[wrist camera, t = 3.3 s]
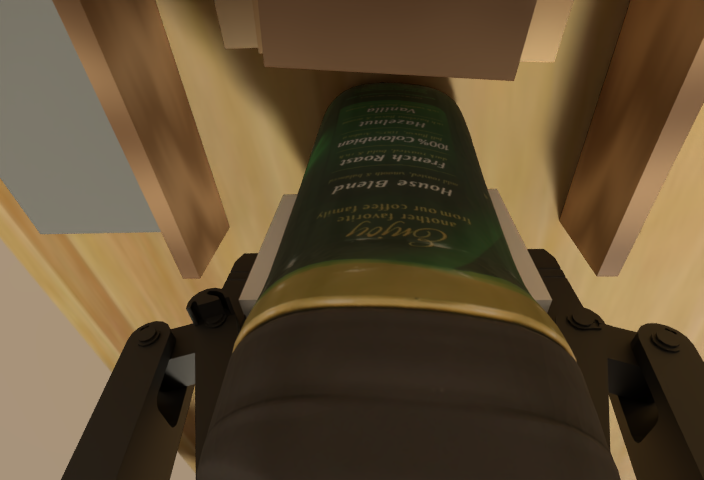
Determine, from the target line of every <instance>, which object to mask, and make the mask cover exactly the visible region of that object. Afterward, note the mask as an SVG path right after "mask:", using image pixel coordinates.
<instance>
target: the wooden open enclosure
mask: <svg viewBox="0 0 704 480" xmlns="http://www.w3.org/2000/svg"><path fill="white" fill-rule="evenodd" d="M52 1H53V3H54V5H55V8H56V10H57V12H58V14H59V16H60V18H61V20H62V22H63V25H64V27H65V29H66V31H67V33H68V35H69V37H70V39H71V42H72V44H73V46H74V48H75V50H76V52H77V54H78V56H79V59H80V61H81V63H82V65H83V67H84V69H85V71H86V73H87V76H88V78H89V80H90V82H91V84H92V86H93V88H94V90H95V93H96V95H97V97H98V99H99V101H100V103H101V105H102V107H103V110H104V112H105V114H106V116H107V118H108V120H109V122H110V124H111V127H112V129H113V131H114V133H115V135H116V137H117V139H118V141H119V144H120V146H121V148H122V150H123V152H124V154H125V156H126V158H127V161H128V163H129V165H130V167H131V169H132V171H133V173H134V175H135V178H136V180H137V182H138V184H139V186H140V188H141V190H142V192H143V195H144V197H145V199H146V201H147V203H148V205H149V207H150V209H151V212H152V214H153V216H154V218H155V220H156V222H157V224H158V226H159V229H160V231H161V233H162V235H163V237H164V239H165V241H166V243H167V246H168V248H169V250H170V252H171V254H172V256H173V258H174V260H175V263H176V265H177V267H178V269H179V271H180V273H181V275H182V277H183V279H200V278H201V276H202V274H203V273H204V271H205V269H206V267H207V266H208V264H209V262H210V261H211V259H212V257H213V255H214V254H215V252H216V250H217V248H218V247H219V245H220V243H221V241H222V240H223V238H224V236H225V234H226V233H227V231H228V229H229V224H228V221H227V218H226V215H225V212H224V209H223V206H222V202H221V199H220V196H219V193H218V190H217V187H216V184H215V181H214V178H213V175H212V172H211V169H210V166H209V163H208V160H207V157H206V154H205V151H204V148H203V145H202V142H201V139H200V136H199V133H198V130H197V127H196V124H195V121H194V117H193V114H192V111H191V108H190V105H189V102H188V99H187V96H186V93H185V90H184V87H183V84H182V81H181V78H180V75H179V72H178V69H177V66H176V63H175V60H174V57H173V54H172V51H171V48H170V45H169V42H168V39H167V35H166V32H165V29H164V26H163V23H162V20H161V17H160V14H159V11H158V8H157V5H156V2H155V0H52ZM703 103H704V0H631V1H630V4H629V7H628V10H627V13H626V16H625V20H624V23H623V26H622V29H621V32H620V35H619V38H618V41H617V44H616V47H615V50H614V53H613V57H612V60H611V63H610V66H609V69H608V72H607V75H606V78H605V81H604V84H603V87H602V90H601V94H600V97H599V100H598V103H597V106H596V109H595V112H594V115H593V118H592V121H591V124H590V128H589V131H588V134H587V137H586V140H585V143H584V146H583V149H582V152H581V155H580V158H579V161H578V165H577V168H576V171H575V174H574V177H573V180H572V183H571V186H570V189H569V192H568V195H567V198H566V202H565V205H564V208H563V211H562V214H561V217H560V220H559V221H560V223H561V224H562V226H563V227H564V229H565V230H566V232H567V233H568V235H569V236H570V237H571V239H572V240H573V242H574V243H575V245H576V246H577V248H578V249H579V251H580V252H581V254H582V255H583V257H584V258H585V260H586V261H587V263H588V264H589V266H590V267H591V268H592V270H593V271H594V273H595V274H596V276H618V275H619V273H620V271H621V269H622V267H623V265H624V263H625V261H626V259H627V257H628V255H629V253H630V251H631V249H632V247H633V245H634V243H635V241H636V239H637V237H638V235H639V233H640V231H641V229H642V227H643V225H644V223H645V221H646V218H647V216H648V214H649V212H650V210H651V208H652V206H653V204H654V202H655V200H656V198H657V196H658V194H659V192H660V190H661V188H662V186H663V184H664V182H665V180H666V178H667V176H668V174H669V172H670V170H671V168H672V166H673V164H674V162H675V160H676V158H677V156H678V154H679V152H680V150H681V148H682V146H683V144H684V142H685V139H686V137H687V135H688V133H689V131H690V129H691V127H692V125H693V123H694V121H695V119H696V117H697V115H698V113H699V111H700V109H701V107H702V105H703Z"/></svg>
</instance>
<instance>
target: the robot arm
mask: <svg viewBox="0 0 704 480" xmlns="http://www.w3.org/2000/svg"><path fill="white" fill-rule="evenodd" d="M488 192H489V195H490V197H491V200H492V203H493V206H494V208H495V211H496V214H497V217H498V219H499V222H500V225H501V228H502V231H503V233H504V236H505V239H506V242H507V244H508V247H509V250H510V252H511V255H512V258H513V260H514V263H515V265H516V268H517V270H518V272H519V274H520V276H521V278H522V280H523V282H524V284H525V286H526V288H527V289H528V291H529V293H530V294H531V296H532V297H533V298H534V300H535V301H536V302H537V303H538V304H539V305H540V306H541V307H542V308H543V309H544V310H545V311H546V312H547V314H548V315H549V316H550V317H551V319H552V320H553V321H554V323H555V324H556V325H557V326H558V328H559V330H560V331H561V333H562V334H563V336H564V337H565V339H566V341H567V343H568V345H569V346H570V348H571V350H572V352H573V354H574V356H575V358H576V362H577V364H578V366H579V367H580V369H581V372H582V374H583V376H584V379H585V382H586V385H587V387H588V390H589V393H590V396H591V398H592V401H593V404H594V406H595V409H596V412H597V414H598V417H599V420H600V423H601V426H602V429H603V432H604V436H605V439H606V442H607V445H608V447H609V450H610V426H609V397H610V400H611V403H612V406H613V409H614V412H615V415H616V418H617V421H618V424H619V427H620V430H621V433H622V436H623V439H624V442H625V445H626V448H627V451H628V454H629V458H630V461H631V464H632V467H633V470H634V473H635V476H636V479H637V480H704V362H703V360H702V358H701V357H700V355H699V353H698V352H697V350H696V348H695V347H694V345H693V344H692V343H691V341H690V340H689V339H688V338H687V337H686V336H684V335H683V334H682V333H680V332H679V331H677V330H675V329H673V328H671V327H668V326H665V325H661V324H657V323H650V324H645V325H643V326H641V327H640V328H639V330H638V332H634V331H629V330H625V329H621V328H617V327H613V326H610V325H606V324H605V322H604V321H603V320H602V319H601V318H600V316H599V315H597V314H596V313H594V312H593V311H591V310H589V309H586V308H584V307H583V306H582V304H581V302H580V301H579V299H578V297H577V295H576V294H575V292H574V290H573V289H572V287H571V285H570V283H569V282H568V280H567V278H565V275H564V273H563V271H562V270H561V269H560V266H559V264H558V263H557V261H556V259H555V258H554V257H553V256H552V255H551V254H549V253H548V252H547V251H546V250H544V249H527V248H526V246H525V244H524V242H523V240H522V238H521V236H520V234H519V232H518V230H517V228H516V226H515V224H514V222H513V220H512V218H511V216H510V214H509V212H508V210H507V208H506V206H505V204H504V202H503V200H502V198H501V196H500V194H499V192H498V190H497V189H488ZM297 195H298V194H292V195H283V197H282V199H281V201H280V204H279V206H278V208H277V211H276V213H275V215H274V218H273V220H272V223H271V225H270V227H269V230H268V232H267V234H266V237H265V239H264V241H263V244H262V246H261V248H260V251H259V253H250V254H243V255H242V256H241V257H240V258H239V259H238V260H237V261H236V262H235V263H234V266H233V268H232V270H231V273H230V274H229V276H228V278H227V281H226V282H225V284H224V286H223V288H222V289H219V288H211V289H206V290H204V291H201V292H199V293H198V294H196V295H195V296H193V297H192V298H191V300H190V301H189V302H188V304H187V308H186V309H187V311H188V313H189V315H190V317H191V319H192V321H193V324H190V325H186V326H182V327H178V328H174V329H170V327H169V326H168V324H166V323H164V322H161V321H155V322H151V323H147V324H145V325H143V326H141V327H139V328H138V329H137V330H136V331H134V332H133V333H132V334H131V336H130V337H129V339H128V340H127V342H126V345H125V347H124V349H123V351H122V353H121V355H120V357H119V359H118V361H117V363H116V365H115V368H114V370H113V372H112V374H111V376H110V378H109V380H108V382H107V384H106V386H105V388H104V391H103V393H102V395H101V397H100V399H99V401H98V403H97V405H96V407H95V409H94V412H93V414H92V416H91V418H90V420H89V422H88V424H87V426H86V428H85V430H84V432H83V435H82V437H81V439H80V441H79V443H78V445H77V447H76V449H75V451H74V453H73V456H72V458H71V460H70V462H69V464H68V466H67V468H66V470H65V472H64V475H63V477H62V479H61V480H170V476H171V473H172V469H173V465H174V461H175V457H176V454H177V450H178V446H179V443H180V439H181V435H182V431H183V428H184V424H185V420H186V416H187V412H188V409H189V405H190V401H191V397H192V394H193V390H194V386H195V431H196V480H197V469H198V465H199V461H200V457H201V453H202V449H203V446H204V443H205V440H206V437H207V433H208V430H209V426H210V423H211V419H212V416H213V413H214V409H215V406H216V403H217V399H218V396H219V393H220V390H221V386H222V383H223V380H224V377H225V373H226V370H227V366H228V363H229V360H230V357H231V355H232V352H233V348H234V343H235V341H236V339H237V337H238V335H239V333H240V331H241V328H242V326H243V324H244V322H245V320H246V318H247V317H248V315H249V313H250V312H251V310H252V308H253V306H254V305H255V303H256V301H257V299H258V297H259V296H260V294H261V292H262V290H263V287H264V285H265V283H266V280H267V278H268V276H269V273H270V270H271V268H272V265H273V262H274V259H275V256H276V254H277V251H278V248H279V245H280V243H281V240H282V237H283V234H284V231H285V228H286V225H287V222H288V219H289V217H290V214H291V211H292V208H293V206H294V203H295V200H296V197H297Z"/></svg>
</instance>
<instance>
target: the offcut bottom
mask: <svg viewBox="0 0 704 480" xmlns="http://www.w3.org/2000/svg"><path fill="white" fill-rule="evenodd" d="M214 3H215V7H216V12H217V16H218V20H219V25H220V29H221V33H222V38H223V42H224V46H225V49H236V48H258V44H257V36H256V28H255V20H254V12H253V4H252V0H214Z"/></svg>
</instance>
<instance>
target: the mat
mask: <svg viewBox="0 0 704 480" xmlns="http://www.w3.org/2000/svg"><path fill="white" fill-rule="evenodd" d="M0 178H1V180H2V181H3V182H4V184H5V185H6V187H7V188H8V189H9V191H10V192H11V194H12V195H13V196H14V198H15V199H16V201H17V202H18V203H19V205H20V206H21V208H22V209H23V210H24V212H25V213H26V215H27V216H28V217H29V219H30V220H31V222H32V223H33V224H34V226H35V227H36V229H37V230H38V231H39V233H40V234H77V233H131V232H161V231H160V229H159V226H158V224H157V222H156V220H155V218H154V216H153V214H152V212H151V209H150V207H149V205H148V203H147V201H146V199H145V197H144V195H143V192H142V190H141V188H140V186H139V184H138V182H137V180H136V178H135V175H134V173H133V171H132V169H131V167H130V165H129V163H128V161H127V158H126V156H125V154H124V152H123V150H122V148H121V146H120V144H119V141H118V139H117V137H116V135H115V133H114V131H113V129H112V127H111V124H110V122H109V120H108V118H107V116H106V114H105V112H104V110H103V107H102V105H101V103H100V101H99V99H98V97H97V95H96V93H95V90H94V88H93V86H92V84H91V82H90V80H89V78H88V76H87V73H86V71H85V69H84V67H83V65H82V63H81V61H80V59H79V56H78V54H77V52H76V50H75V48H74V46H73V44H72V42H71V39H70V37H69V35H68V33H67V31H66V29H65V27H64V25H63V22H62V20H61V18H60V16H59V14H58V12H57V10H56V8H55V5H54V3H53V1H52V0H0Z"/></svg>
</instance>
